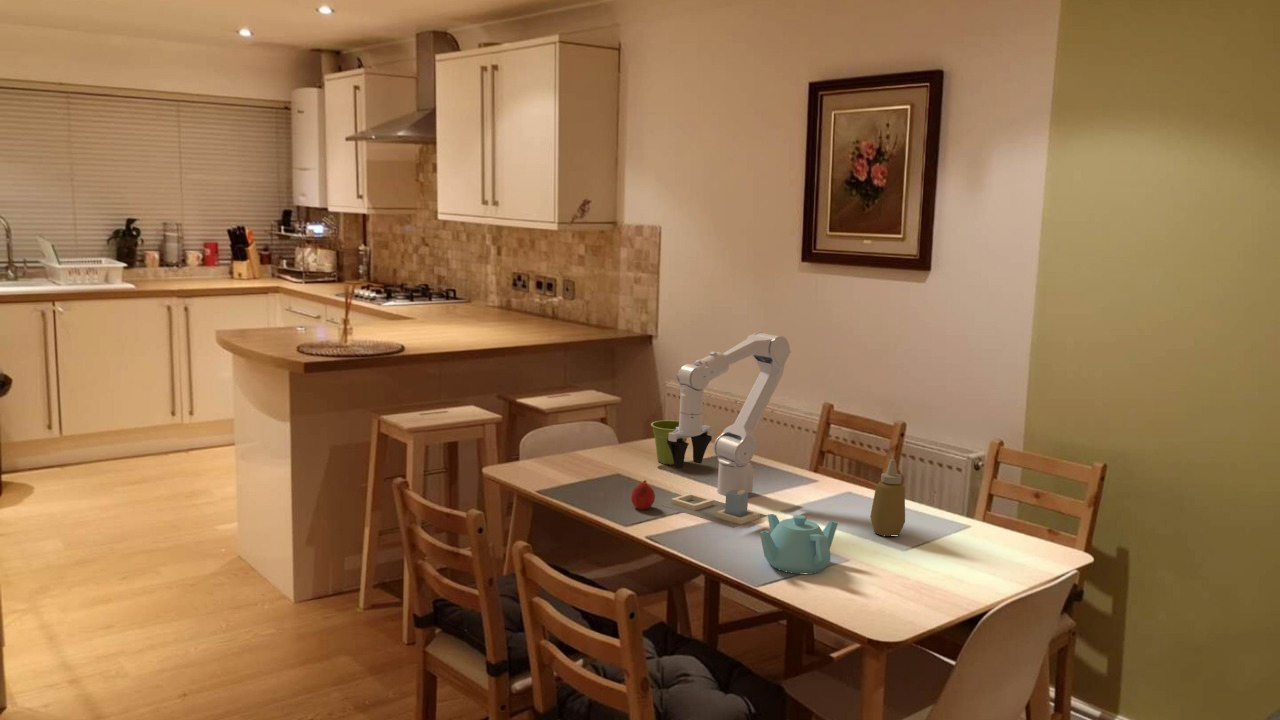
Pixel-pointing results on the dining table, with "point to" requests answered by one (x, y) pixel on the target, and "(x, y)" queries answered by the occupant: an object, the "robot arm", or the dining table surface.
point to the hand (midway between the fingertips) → (688, 465)
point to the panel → (710, 510)
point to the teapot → (797, 544)
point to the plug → (736, 503)
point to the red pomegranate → (643, 496)
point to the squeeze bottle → (889, 503)
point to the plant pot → (664, 439)
